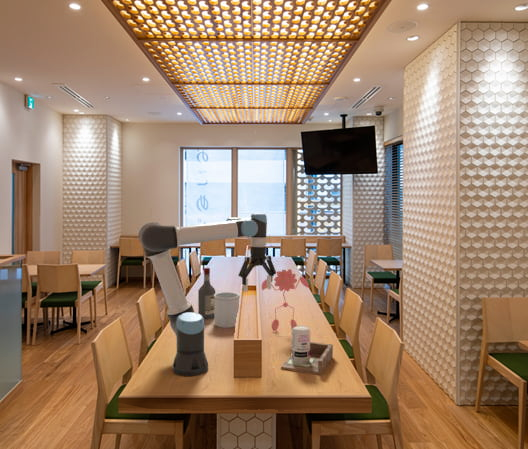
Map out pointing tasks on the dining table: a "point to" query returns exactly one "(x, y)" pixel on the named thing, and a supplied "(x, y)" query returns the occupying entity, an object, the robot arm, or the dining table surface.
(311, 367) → the corner tray
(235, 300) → the utensil holder
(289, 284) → the pink flat figure
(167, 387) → the dining table surface
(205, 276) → the liquor
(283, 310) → the dining table surface
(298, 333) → the supplement can
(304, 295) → the dining table surface
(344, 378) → the dining table surface
